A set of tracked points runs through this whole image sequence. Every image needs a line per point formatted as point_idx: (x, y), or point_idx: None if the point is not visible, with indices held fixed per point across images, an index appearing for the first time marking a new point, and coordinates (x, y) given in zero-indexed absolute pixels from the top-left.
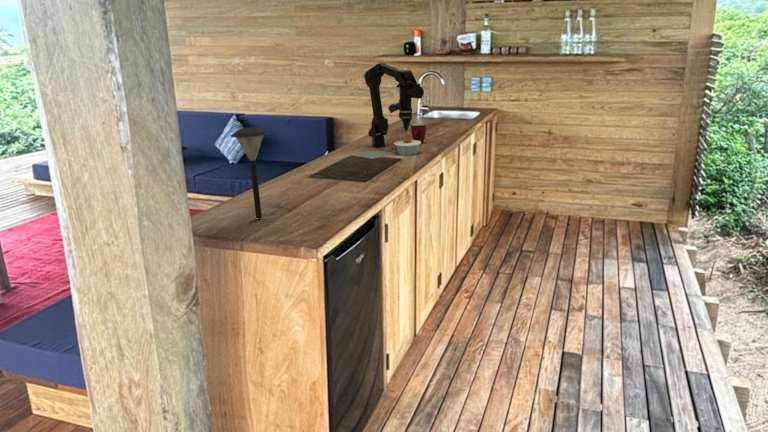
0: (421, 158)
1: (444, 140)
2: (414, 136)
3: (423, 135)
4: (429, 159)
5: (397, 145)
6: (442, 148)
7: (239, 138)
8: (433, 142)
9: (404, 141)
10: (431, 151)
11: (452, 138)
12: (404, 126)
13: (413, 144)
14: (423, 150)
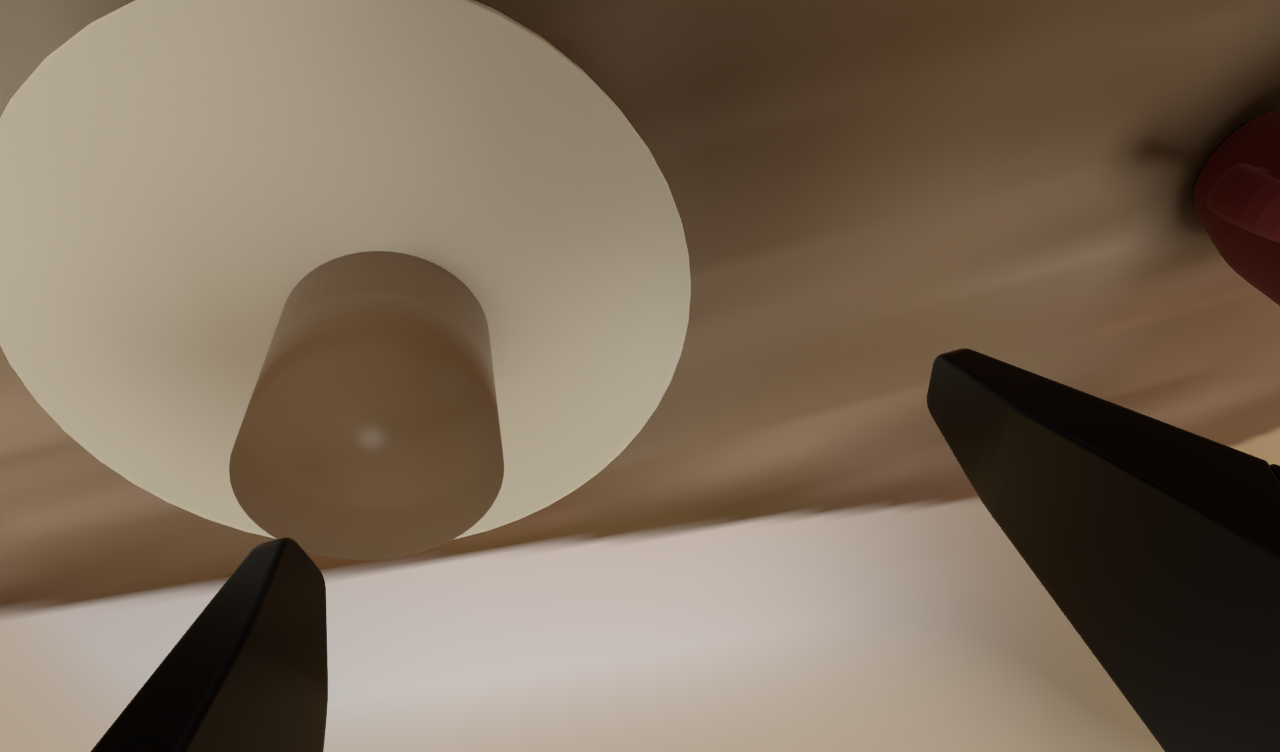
0: (109, 498)
1: (1216, 398)
2: (1247, 196)
3: (1271, 298)
4: (92, 590)
5: (1, 147)
6: (795, 502)
7: None
8: (1176, 329)
9: (283, 314)
10: (630, 461)
11: (1266, 432)
12: (127, 740)
13: (187, 503)
14: (703, 362)
